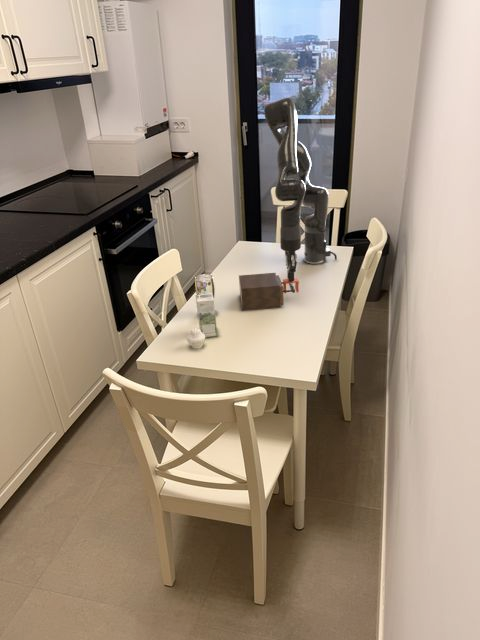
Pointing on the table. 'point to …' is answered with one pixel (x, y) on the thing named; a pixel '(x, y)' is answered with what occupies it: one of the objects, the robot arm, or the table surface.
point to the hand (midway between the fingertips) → (290, 279)
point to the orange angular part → (291, 282)
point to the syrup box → (206, 314)
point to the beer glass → (205, 285)
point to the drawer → (285, 290)
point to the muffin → (196, 338)
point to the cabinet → (259, 291)
